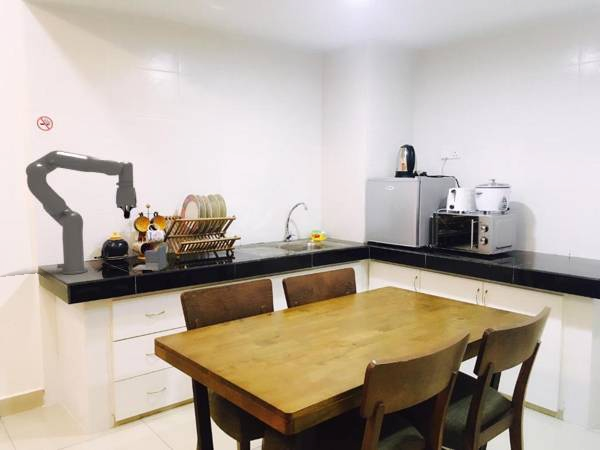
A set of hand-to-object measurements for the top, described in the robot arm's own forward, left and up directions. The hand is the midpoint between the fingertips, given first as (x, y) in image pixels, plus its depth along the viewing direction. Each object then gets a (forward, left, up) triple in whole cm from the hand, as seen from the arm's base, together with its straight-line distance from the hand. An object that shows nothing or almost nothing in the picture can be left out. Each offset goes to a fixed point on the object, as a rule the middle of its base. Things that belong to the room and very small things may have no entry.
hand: (127, 218), depth 272 cm
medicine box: (+16, -7, -26) cm, 31 cm away
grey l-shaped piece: (+14, -7, -26) cm, 31 cm away
